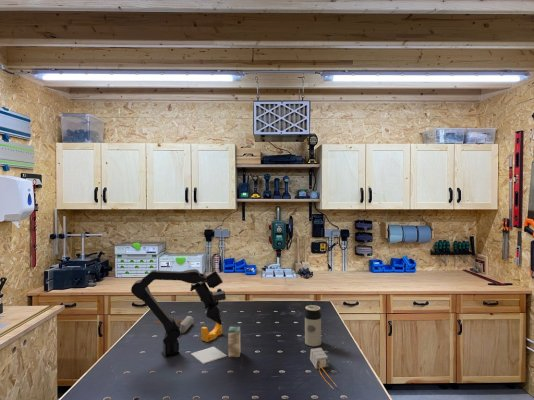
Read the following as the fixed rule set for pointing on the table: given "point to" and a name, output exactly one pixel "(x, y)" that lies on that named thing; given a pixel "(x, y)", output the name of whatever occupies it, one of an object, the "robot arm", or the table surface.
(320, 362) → the electrical component
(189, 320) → the motor
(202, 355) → the grey pad
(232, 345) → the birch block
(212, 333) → the pipe clamp
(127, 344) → the table surface
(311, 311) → the travel mug
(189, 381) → the table surface
